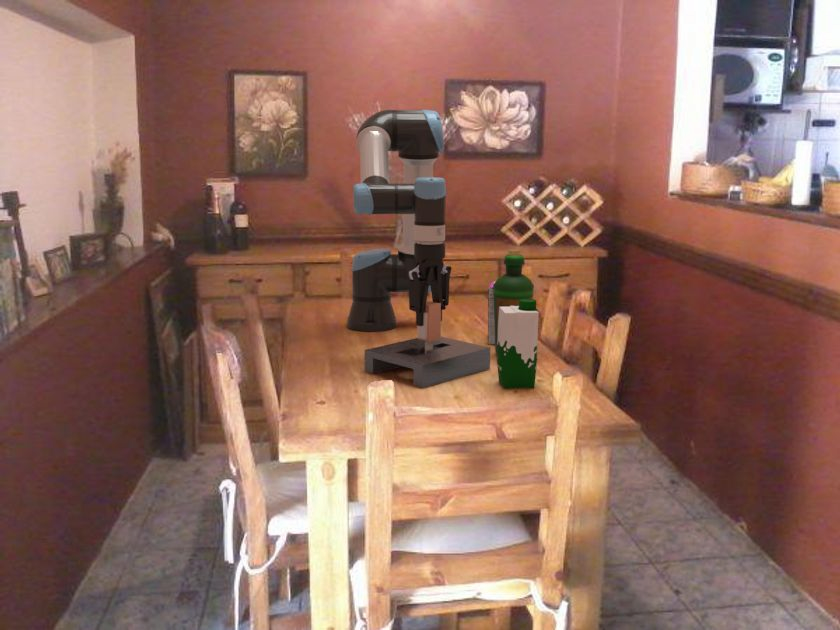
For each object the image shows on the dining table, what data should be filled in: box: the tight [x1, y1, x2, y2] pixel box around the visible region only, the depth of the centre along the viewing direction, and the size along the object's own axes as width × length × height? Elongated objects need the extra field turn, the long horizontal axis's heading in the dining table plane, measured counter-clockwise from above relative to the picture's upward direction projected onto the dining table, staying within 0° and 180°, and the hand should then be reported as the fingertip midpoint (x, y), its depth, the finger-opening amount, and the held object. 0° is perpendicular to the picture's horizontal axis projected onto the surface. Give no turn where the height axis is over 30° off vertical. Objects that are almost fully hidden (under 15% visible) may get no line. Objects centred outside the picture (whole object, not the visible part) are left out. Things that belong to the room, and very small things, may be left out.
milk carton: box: [496, 298, 540, 389], centre depth 195 cm, size 9×9×20 cm
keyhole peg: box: [418, 300, 442, 354], centre depth 207 cm, size 5×5×16 cm
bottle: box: [493, 249, 535, 354], centre depth 221 cm, size 11×11×28 cm
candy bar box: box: [487, 280, 496, 346], centre depth 238 cm, size 11×5×16 cm, turn 168°
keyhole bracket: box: [364, 336, 491, 389], centre depth 208 cm, size 20×24×6 cm
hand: (429, 336), depth 207 cm, fingers closed on keyhole peg, 4 cm apart
